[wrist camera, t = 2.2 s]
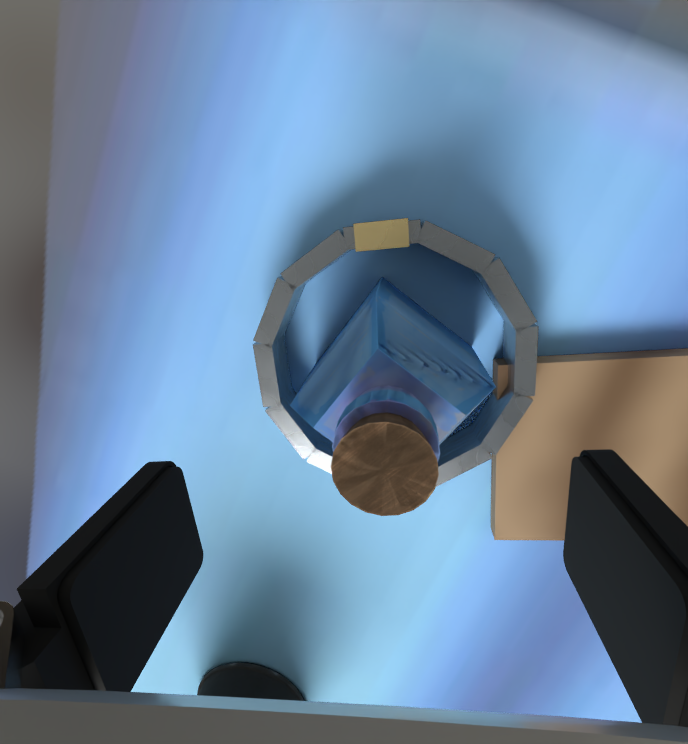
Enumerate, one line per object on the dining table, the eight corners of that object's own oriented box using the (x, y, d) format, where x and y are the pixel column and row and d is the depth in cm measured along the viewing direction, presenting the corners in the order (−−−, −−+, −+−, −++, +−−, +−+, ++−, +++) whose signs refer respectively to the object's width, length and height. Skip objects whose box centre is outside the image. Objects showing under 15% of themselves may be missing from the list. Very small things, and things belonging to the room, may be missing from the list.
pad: (718, 346, 21) (736, 353, 20) (685, 527, 25) (698, 541, 23) (493, 358, 23) (498, 365, 22) (490, 526, 26) (494, 539, 25)
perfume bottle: (382, 276, 22) (364, 325, 11) (471, 347, 23) (541, 460, 12) (316, 363, 24) (243, 479, 13) (399, 425, 25) (399, 588, 14)
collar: (527, 207, 20) (548, 203, 17) (518, 464, 25) (533, 495, 22) (252, 236, 22) (229, 236, 19) (288, 468, 27) (274, 497, 24)
